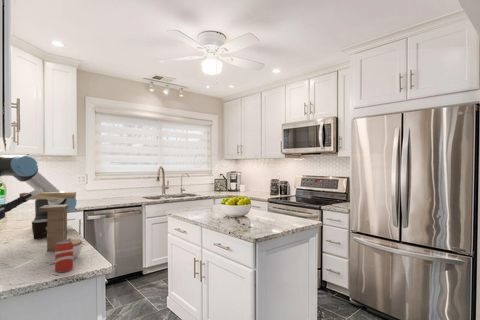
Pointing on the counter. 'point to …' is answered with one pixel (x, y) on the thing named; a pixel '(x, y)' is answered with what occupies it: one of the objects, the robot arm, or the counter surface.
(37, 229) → the coffee mug
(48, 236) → the walnut stand
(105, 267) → the counter surface
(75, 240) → the lidded jar
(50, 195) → the tan wooden bar
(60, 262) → the beverage can
